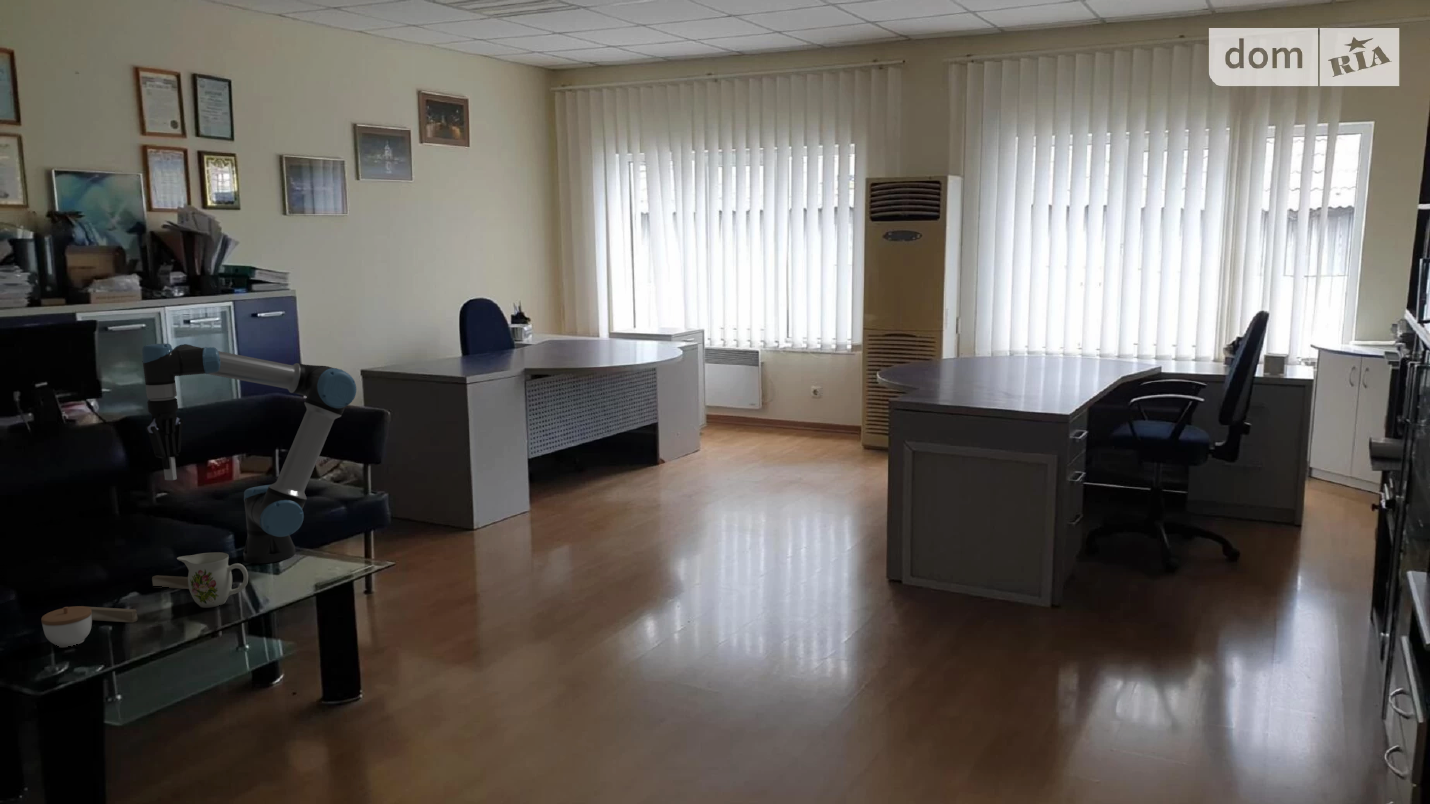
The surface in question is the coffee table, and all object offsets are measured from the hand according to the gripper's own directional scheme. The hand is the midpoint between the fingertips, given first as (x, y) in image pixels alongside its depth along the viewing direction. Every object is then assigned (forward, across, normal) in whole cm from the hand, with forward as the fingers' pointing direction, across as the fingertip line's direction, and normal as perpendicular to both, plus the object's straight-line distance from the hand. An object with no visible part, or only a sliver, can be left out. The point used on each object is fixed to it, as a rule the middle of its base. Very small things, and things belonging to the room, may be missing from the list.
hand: (170, 479), depth 291 cm
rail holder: (+32, +13, -2) cm, 35 cm away
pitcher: (+33, +10, +19) cm, 39 cm away
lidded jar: (+33, +41, 0) cm, 52 cm away
